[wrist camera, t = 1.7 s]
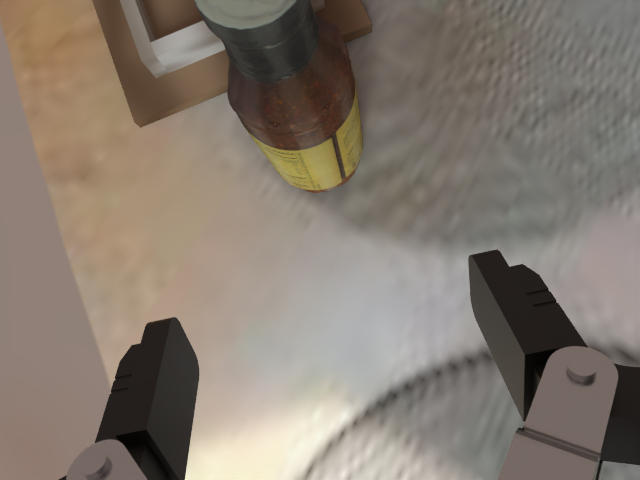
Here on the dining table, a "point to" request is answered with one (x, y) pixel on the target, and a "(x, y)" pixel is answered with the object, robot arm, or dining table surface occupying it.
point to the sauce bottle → (291, 87)
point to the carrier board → (184, 51)
